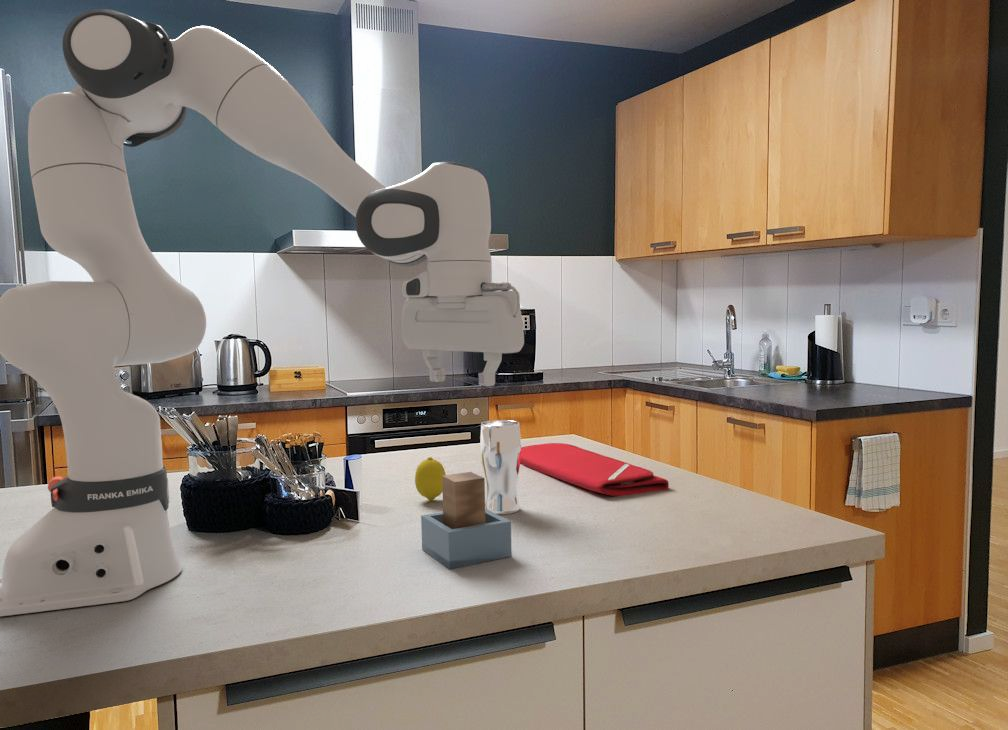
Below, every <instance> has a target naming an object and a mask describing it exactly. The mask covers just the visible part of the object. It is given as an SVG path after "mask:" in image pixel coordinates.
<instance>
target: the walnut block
mask: <svg viewBox="0 0 1008 730" xmlns="http://www.w3.org/2000/svg"><path fill="white" fill-rule="evenodd" d="M442 491H443V492H442V512H443V524H444V525H446V526H447V527H449V528H451V529H457V528H463V527H469V526H474V525H480V524H486V522H485V499H486V483H485V477H483V476H482V475H478V474H476V473H474V472H472V471H468V472H459V473H450V474H446V475H444V476H442Z"/></svg>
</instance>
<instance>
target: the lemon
mask: <svg viewBox="0 0 1008 730" xmlns="http://www.w3.org/2000/svg"><path fill="white" fill-rule="evenodd" d="M416 467H417V468H416V470H415V474H414V483H415V485H414V486H415V488H416V490H417V492H418V493H419V494H420V495H421V496H422V497H424V498H426V499H427V500H428V501H429V502H433V501H434V500H435V499H436V498H437V497H440V495H441V494H443V491H442V476H444V475H447V474H446V472H445V468H444V466H443V464H442V463H441V462H440V461H438V460H437V459H434V458H433V457H432V456H429V457H427V458H426V459H424V460H423V461H421V462H420V463H419V464H418V465H417V466H416Z"/></svg>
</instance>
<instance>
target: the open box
mask: <svg viewBox="0 0 1008 730" xmlns="http://www.w3.org/2000/svg"><path fill="white" fill-rule="evenodd" d="M485 522H486V524H480V525H474V526H469V527H463V528H457V529H451V528H449V527H447V526H446V525H444V524H443V511H439V512H434V513H429V514H424V515H423V514H422V515H420V525H421V550H422V551H423V552H425V553H426V552H427V553H426V554H428V555H429V556H430V557H432V558H433V559H435V560H436V561H437V562H439V563H441V564H442V565H443V566H444V567H446V568H447V569H448V568H449V569H448V570H453V569H457V568H461V567H467V565H468V566H471V565H477V564H482V563H487V562H492V561H496V560H501V559H507V558H510V557H512V521H511V520H509V519H507V518H505V517H503V516H501V515H500V514H495V513H493V512H491V511H489V510H487V509H485ZM491 560H492V561H491ZM486 561H487V562H486Z"/></svg>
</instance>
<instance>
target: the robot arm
mask: <svg viewBox="0 0 1008 730" xmlns="http://www.w3.org/2000/svg"><path fill="white" fill-rule="evenodd" d="M65 28H66V29H65V30H64V33H63V37H62V53H63V58H64V61H65V63H66V66H67V69H68V70H69V73H70V74H71V76H72V78H73V79H74V81H75V82H76V83H77V86H76V87H74V88H72V89H71V90H69V91H68V92H63V91H62V92H56V93H51V94H48V95H45V96H43V97H41V98H40V99H38V100H37V101H36V102H35V103H34V104H33V106H31V108H30V110H29V113H28V127H27V128H28V129H27V145H28V146H27V147H28V149H27V151H28V161H29V171H30V177H31V183H32V189H33V193H34V199H35V200H34V201H35V206H36V213H37V217H38V223H39V227H40V228H39V229H40V233H41V235H42V237H43V238H44V240H45V241H46V243H47V245H48V246H49V247H50V248H51V249H53V250H54V251H55V252H57V253H58V254H60V255H62V256H64V257H66V258H68V259H70V260H72V261H74V262H76V263H77V264H78V265H79V266H81V267H82V268H83V269H84V270H85V271H86V272H87V274H88V275H89V276H90V278H91V279H92V281H72V280H71V281H70V280H68V281H67V280H66V281H65V280H61V281H60V280H49V281H44V282H37V283H31V284H26V285H22V286H16V287H11V288H9V289H7V290H5V291H4V293H3V294H2V295H1V296H0V355H1V357H2V358H3V359H4V360H6V362H7V363H9V364H11V365H12V366H13V367H14V368H17V369H18V370H20V371H22V372H23V373H26V374H27V376H30V377H31V378H32V379H33V380H34V381H36V382H37V383H38V384H39V386H40V387H42V388H43V390H44V391H45V392H46V393H47V395H48V396H49V398H50V399H51V401H52V403H53V404H54V407H55V408H56V410H57V413H58V415H59V418H60V421H61V426H62V433H63V437H64V438H63V439H64V446H65V453H66V462H67V463H66V464H67V476H65V477H62V476H60V475H59V476H58V475H57V476H53V477H52V478H50V480H49V481H48V485H47V489H48V491H49V493H50V503H51V507H52V509H50V510H49V511H48V512H47V513H46V514H45V515H43V516H42V517H41V518H39V520H37V521H36V522H35V523H33V524H32V525H31V526H30V527H28V529H27V530H25V531H24V532H23V533H21V534H20V535H19V536H18V537H17V538H16V539H15V540H14V541H13V542H12V543H11V545H10V546H9V548H8V550H7V552H6V554H5V557H4V563H3V565H2V566H3V567H2V572H1V577H0V617H6V616H14V615H22V614H32V613H39V612H46V611H47V612H48V611H55V610H56V611H57V610H63V609H71V608H79V607H81V608H82V607H87V606H97V605H104V604H105V605H106V604H111V603H113V604H114V603H119V602H127V601H130V600H134V599H136V598H137V597H139V596H140V595H142V594H143V593H145V592H146V591H148V590H151V589H153V588H155V587H157V586H160V585H163V584H165V583H167V582H169V581H170V580H172V579H174V578H176V577H177V576H178V575H179V574H180V573H181V571H182V570H183V565H182V563H181V561H180V558H179V555H178V553H177V549H176V546H175V543H174V538H173V534H172V529H171V525H170V520H169V515H168V509H169V503H170V487H169V484H170V483H169V475H168V472H167V469H166V467H165V466H164V464H163V448H162V447H163V445H162V430H161V429H162V428H161V417H160V414H159V412H158V411H157V410H156V408H155V406H154V405H152V404H151V403H150V402H149V401H147V400H146V399H144V398H142V397H139V396H138V395H135V394H132V393H130V392H127V391H125V390H124V389H123V388H122V387H121V385H120V383H119V380H118V379H117V376H116V371H115V367H121V366H122V367H123V366H131V365H132V366H134V365H135V366H136V365H146V364H147V365H148V364H159V363H164V362H168V361H171V360H174V359H179V358H181V357H185V356H188V355H191V354H193V353H195V352H196V351H197V350H198V348H199V346H200V345H201V344H202V342H203V339H204V337H205V334H206V328H207V315H206V312H205V309H204V306H203V304H202V301H200V299H199V298H198V296H197V295H196V294H195V293H194V292H193V291H192V290H191V289H189V288H187V287H186V286H184V285H183V284H181V283H180V282H179V281H178V280H176V279H175V278H174V277H172V276H171V275H170V273H169V272H167V271H166V269H164V267H163V266H162V264H160V262H159V261H158V259H156V257H155V256H154V254H153V253H152V251H151V250H150V248H149V246H148V244H147V243H146V241H145V239H144V236H143V234H142V231H141V228H140V225H139V221H138V218H137V215H136V209H135V205H134V200H133V197H132V192H131V187H130V182H129V178H128V177H129V176H128V172H127V166H126V162H125V155H124V146H125V147H129V148H135V147H139V146H141V145H143V144H147V143H148V142H153V141H158V140H161V139H165V138H167V137H170V136H172V135H173V134H174V133H175V132H177V131H178V130H179V129H180V128H181V127H182V125H183V124H184V122H185V120H186V117H187V111H188V109H191V110H192V111H196V112H197V113H199V114H201V116H204V117H205V118H206V119H207V120H208V121H209V122H210V123H211V124H213V125H214V127H215V128H217V129H218V130H220V131H221V132H222V133H223V134H224V135H225V136H227V137H228V138H229V139H230V140H232V141H233V142H235V143H236V144H237V145H239V146H241V147H242V148H243V149H245V150H246V151H248V152H250V153H252V154H253V155H255V156H256V157H258V158H260V159H263V160H265V161H266V162H269V163H271V164H273V165H275V166H277V167H280V168H282V169H284V170H287V171H289V172H291V173H293V174H295V175H297V176H299V177H302V178H303V179H305V180H307V181H309V182H310V183H312V184H314V185H315V186H317V187H318V188H319V189H321V190H322V191H323V192H325V194H327V195H328V196H329V197H331V199H333V200H334V201H335V202H336V203H338V204H339V205H340V206H341V207H342V208H344V209H345V210H346V211H347V212H348V213H349V214H351V215H352V216H353V217H355V220H354V221H355V225H354V227H355V230H356V231H355V232H356V234H357V236H358V239H359V241H360V242H361V243H362V245H363V246H364V247H365V248H366V249H367V250H369V252H371V253H372V254H374V255H375V256H377V257H380V258H382V259H384V260H385V261H388V262H390V263H391V264H393V265H396V266H398V267H399V266H400V267H413V266H417V265H420V264H422V263H423V262H427V263H426V264H427V265H426V266H427V269H426V270H423V271H422V272H421V273H419V274H418V275H416V276H414V277H412V278H410V279H408V280H406V281H404V282H403V283H402V285H401V293H402V297H404V298H407V299H405V300H404V302H403V303H402V309H401V336H402V341H403V343H404V344H405V347H406V348H407V349H409V350H422V359H423V360H424V362H425V364H426V366H427V368H428V369H427V370H429V371H428V373H429V381H430V382H435V383H436V382H437V383H439V382H440V383H441V382H445V381H446V369H445V368H442V366H441V364H440V361H439V358H438V357H440V356H441V351H451V352H452V351H453V352H469V353H470V352H471V353H472V352H473V353H483V360H484V361H485V362H486V363H485V366H484V368H483V371H482V372H478V376H477V377H478V385H479V386H480V387H493V386H495V384H496V373H497V370H498V368H499V367H500V364H501V363H502V360H503V358H502V357H503V354H514V353H519V352H520V351H521V350H522V348H523V347H524V345H525V334H524V323H523V315H522V311H521V307H520V306H521V302H520V301H521V299H520V293H519V291H518V290H517V289H516V287H515V286H513V285H512V284H511V283H509V282H500V283H499V282H498V283H497V282H492V279H493V278H492V276H493V275H492V274H493V273H492V272H493V271H492V267H493V266H492V264H493V263H492V257H491V252H490V247H489V241H490V236H491V231H492V218H491V217H492V216H491V213H492V212H491V198H490V191H489V190H490V189H489V185H488V182H487V180H486V178H485V176H484V175H483V174H482V173H481V172H480V171H479V170H478V169H476V167H475V168H474V167H473V166H470V165H468V164H463V163H459V162H453V161H438V162H433V163H432V164H430V165H429V167H427V168H426V169H425V170H424V171H423V172H420V173H419V174H417V175H415V176H414V177H412V178H409V179H407V180H406V181H403V182H400V183H397V184H393V185H391V186H387V187H386V186H384V184H382V183H381V182H380V181H378V180H377V179H376V178H375V177H374V176H372V175H371V174H370V173H369V172H368V171H367V170H366V169H364V168H363V167H362V166H360V164H359V163H357V162H356V160H354V159H353V158H352V157H350V156H349V155H348V154H347V153H346V152H345V151H344V150H343V149H342V148H341V147H340V145H339V144H337V142H336V141H335V140H334V139H333V137H332V136H331V135H330V133H329V132H328V130H327V129H326V128H325V126H324V125H323V123H322V122H321V121H320V119H319V118H318V117H317V115H316V114H315V113H314V111H313V110H312V109H311V107H310V106H309V104H308V103H307V102H306V100H304V98H303V97H302V96H301V94H299V92H298V91H297V90H296V88H294V87H293V85H292V84H291V83H290V82H288V80H287V79H286V78H285V77H284V76H283V75H282V74H281V73H280V72H278V71H277V69H275V68H274V67H273V66H272V65H271V64H269V63H268V62H267V61H265V59H263V58H262V57H260V56H259V55H258V54H256V53H255V52H254V51H253V50H251V49H250V48H248V47H247V46H245V45H244V44H242V43H241V42H239V41H237V40H236V39H235V38H233V37H231V36H229V34H226V33H225V32H222V31H221V30H219V29H217V28H215V27H212V26H208V25H200V26H195V27H192V28H189V29H187V30H186V31H185V32H183V33H182V34H180V36H178V37H177V38H175V39H170V37H169V35H168V33H167V32H166V31H165V29H164V28H163V27H162V26H161V25H158V24H156V23H152V22H150V21H149V22H147V21H144V20H139V19H137V18H134V17H133V16H130V15H128V14H125V13H123V12H120V11H116V10H113V9H108V8H107V9H106V8H105V9H104V8H99V9H97V8H96V9H91V10H87V11H84V12H82V13H80V14H78V15H77V16H76V17H74V18H73V19H72V20H71V21H70V22H69V23H68V25H67V27H65ZM126 141H127V142H126ZM128 142H129V143H128ZM130 142H131V143H130Z"/></svg>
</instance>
